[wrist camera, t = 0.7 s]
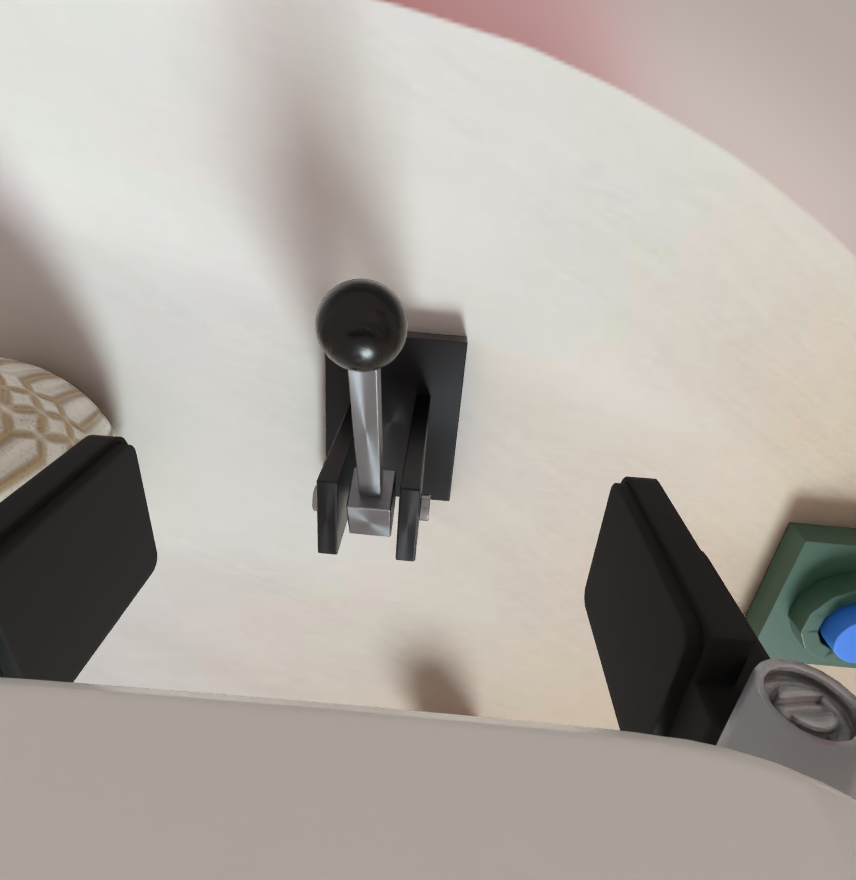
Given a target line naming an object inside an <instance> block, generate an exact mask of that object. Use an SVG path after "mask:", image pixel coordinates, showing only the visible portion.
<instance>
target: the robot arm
mask: <svg viewBox="0 0 856 880" xmlns="http://www.w3.org/2000/svg"><path fill="white" fill-rule="evenodd" d="M156 562H157V551H156V546H155V541H154V536H153V531H152V527H151V522H150V517H149V512H148V507H147V503H146V498H145V493H144V488H143V483H142V479H141V474H140V469H139V464H138V459H137V455H136V451H135V449H134V447H133V446H131V445H128V444H127V442H126V441H125V439H124V438H122V437H116V436H103V435H88V436H86V437H85V438H83V439H82V440H81V441H79V442H78V443H77V444H76V445H74V446H73V447H72V448H70V449H69V450H68V451H66V452H65V453H64V454H63V455H61V456H60V457H59V458H57V459H56V460H55V461H53V462H52V463H51V464H50V465H48V466H47V467H46V468H44V469H43V470H42V471H40V472H39V473H38V474H36V475H35V476H34V477H33V478H31V479H30V480H29V481H27V482H26V483H25V484H23V485H22V486H21V487H20V488H18V489H17V490H16V491H14V492H13V493H12V494H10V495H9V496H8V497H6V498H5V499H4V500H3V501H1V502H0V880H856V697H855V695H854V694H852V693H851V692H850V691H849V690H848V689H847V688H845V687H844V686H843V685H842V684H841V683H839V682H838V681H837V680H835V679H833V678H832V677H830V676H829V675H827V674H825V673H824V672H822V671H820V670H818V669H816V668H813V667H811V666H809V665H806V664H804V663H801V662H797V661H793V660H788V659H770V657H769V656H768V654H767V652H766V651H765V649H764V648H763V646H762V644H761V643H760V641H759V639H758V638H757V636H756V635H755V633H754V631H753V630H752V628H751V627H750V625H749V623H748V622H747V620H746V618H745V617H744V615H743V614H742V612H741V610H740V609H739V607H738V606H737V604H736V602H735V601H734V599H733V597H732V596H731V594H730V593H729V591H728V589H727V588H726V586H725V585H724V583H723V581H722V580H721V578H720V576H719V575H718V573H717V572H716V570H715V568H714V567H713V565H712V564H711V562H710V560H709V559H708V557H707V556H706V555H705V554H704V552H703V551H701V550H700V548H699V547H698V545H697V543H696V542H695V540H694V539H693V537H692V535H691V534H690V532H689V530H688V529H687V527H686V526H685V524H684V522H683V521H682V519H681V517H680V516H679V514H678V512H677V511H676V509H675V508H674V506H673V504H672V503H671V501H670V499H669V498H668V496H667V494H666V493H665V491H664V490H663V488H662V486H661V485H660V483H659V482H658V481H657V479H650V478H638V477H625V478H624V479H623V480H622V482H621V484H620V483H614V484H613V486H612V487H611V490H610V494H609V498H608V502H607V506H606V510H605V514H604V517H603V521H602V525H601V529H600V533H599V537H598V541H597V545H596V548H595V552H594V556H593V560H592V564H591V568H590V572H589V575H588V579H587V583H586V587H585V595H584V598H585V607H586V611H587V614H588V618H589V622H590V625H591V629H592V632H593V636H594V639H595V643H596V646H597V650H598V653H599V657H600V660H601V664H602V668H603V671H604V675H605V678H606V682H607V685H608V689H609V692H610V696H611V699H612V703H613V706H614V710H615V714H616V717H617V721H618V724H619V728H620V730H611V729H601V728H592V727H582V726H572V725H562V724H553V723H543V722H534V721H523V720H512V719H501V718H490V717H478V716H467V715H456V714H445V713H434V712H423V711H411V710H400V709H389V708H378V707H366V706H354V705H343V704H331V703H319V702H307V701H295V700H284V699H272V698H260V697H247V696H235V695H223V694H211V693H199V692H187V691H174V690H162V689H149V688H136V687H123V686H110V685H97V684H85V683H73V682H74V680H75V679H76V677H77V676H78V675H79V673H80V672H81V671H82V669H83V668H84V666H85V665H86V664H87V662H88V661H89V660H90V658H91V657H92V655H93V654H94V653H95V651H96V650H97V648H98V647H99V646H100V644H101V643H102V642H103V640H104V639H105V637H106V636H107V635H108V633H109V632H110V631H111V629H112V628H113V626H114V625H115V624H116V622H117V621H118V619H119V618H120V617H121V615H122V614H123V613H124V611H125V610H126V608H127V607H128V606H129V604H130V603H131V602H132V600H133V599H134V597H135V596H136V595H137V593H138V592H139V590H140V589H141V588H142V586H143V585H144V584H145V582H146V581H147V579H148V578H149V577H150V575H151V574H152V572H153V571H154V569H155V566H156Z"/></svg>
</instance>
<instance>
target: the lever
mask: <svg viewBox="0 0 856 880" xmlns="http://www.w3.org/2000/svg"><path fill="white" fill-rule="evenodd" d="M407 331H408V321H407V316H406V312H405V309H404V307H403V305H402V303H401V301H400V300H399V298H398V297H397V296H396V294H395V293H394V292H393V291H391V290H390V289H389V288H388V287H386V286H385V285H383V284H381V283H379V282H377V281H374V280H370V279H352V280H348V281H345V282H342V283H340V284H338V285H337V286H335V287H334V288H332V289H331V290H330V291H329V292H328V293H327V294H326V296H325V297H324V298H323V300H322V301H321V303H320V305H319V308H318V311H317V315H316V333H317V338H318V341H319V343H320V345H321V347H322V349H323V351H324V352H325V353H326V355H327V356H328V357H329V358H330V359H331V360H332V361H333V362H335V363H336V364H337V365H339V366H341V367H342V368H345V369H347V370H348V378H349V389H350V400H351V411H352V421H353V432H354V443H355V454H356V465H357V468H356V467H354V468H353V473H352V478H351V483H350V489H349V494H348V499H347V505H346V509H347V516H348V524H349V531H350V533H355V534H366V535H377V536H388V537H390V536H391V530H392V523H393V515H394V507H395V499H396V472H395V471H390V470H383V443H382V403H381V368H383V367H384V366H386V365H388V364H389V363H391V362H392V361H393V360H394V359H395V358H396V357H397V356H398V354H399V353H400V352H401V350H402V348H403V346H404V344H405V341H406V337H407Z"/></svg>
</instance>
